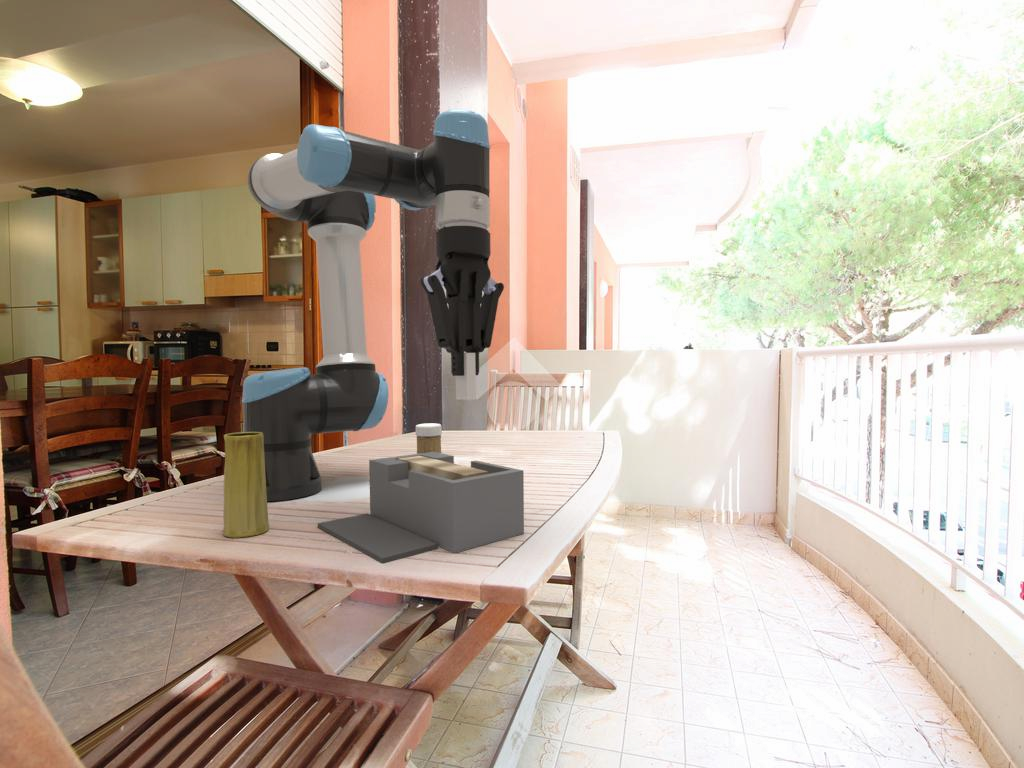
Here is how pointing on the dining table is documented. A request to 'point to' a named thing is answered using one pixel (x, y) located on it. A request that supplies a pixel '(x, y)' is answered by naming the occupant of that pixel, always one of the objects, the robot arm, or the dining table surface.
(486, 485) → the pocket block
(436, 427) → the sprinkles bottle
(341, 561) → the dining table surface
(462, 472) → the birch bar
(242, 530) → the vase
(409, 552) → the rubber mat
